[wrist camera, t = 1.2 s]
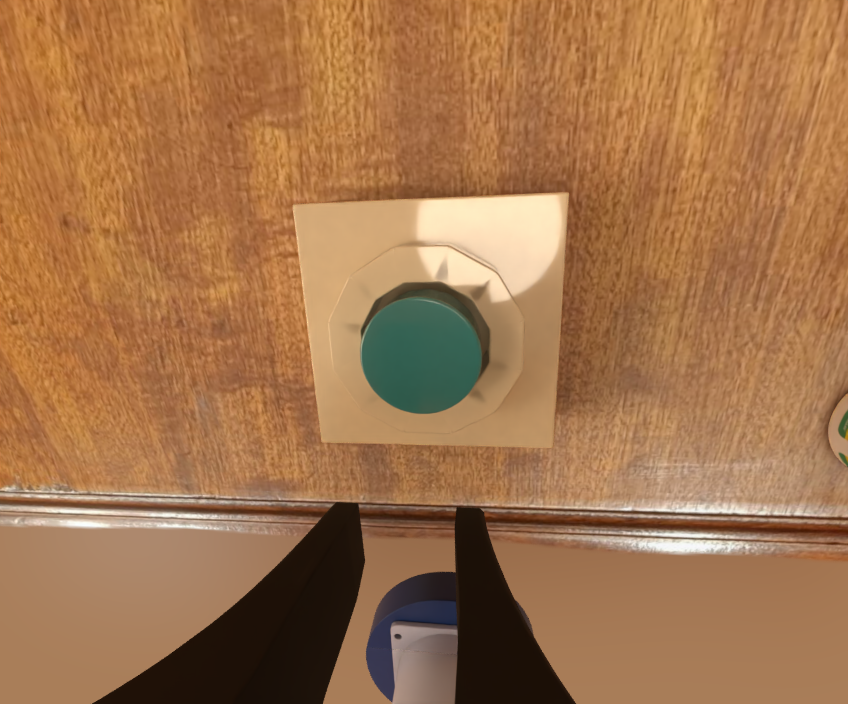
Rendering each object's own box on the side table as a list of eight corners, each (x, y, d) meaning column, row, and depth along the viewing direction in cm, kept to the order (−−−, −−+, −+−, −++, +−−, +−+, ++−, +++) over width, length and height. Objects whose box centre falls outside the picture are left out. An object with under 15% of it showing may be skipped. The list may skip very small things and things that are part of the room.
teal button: (481, 395, 16) (482, 416, 14) (375, 393, 16) (364, 414, 15) (481, 287, 15) (482, 296, 13) (367, 289, 15) (354, 298, 13)
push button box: (542, 415, 21) (562, 474, 16) (342, 411, 22) (305, 465, 17) (553, 195, 18) (582, 188, 13) (321, 205, 19) (269, 202, 14)
